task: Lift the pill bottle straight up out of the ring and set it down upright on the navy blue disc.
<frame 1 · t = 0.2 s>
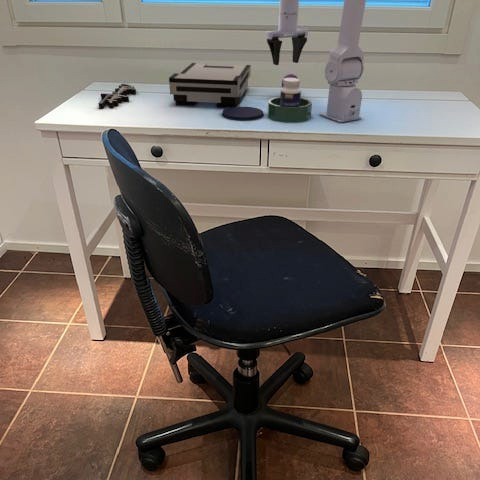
hand: (285, 63, 155), 10 cm above the table, tool pointing down, fingers open, 7 cm apart
game console: (213, 96, 162), on the table
pill bottle: (288, 117, 143), resting in ring
ring: (288, 116, 143), on the table
navy blue disc: (242, 114, 143), on the table
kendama: (288, 99, 160), on the table
dark jagged flat part: (117, 98, 158), on the table
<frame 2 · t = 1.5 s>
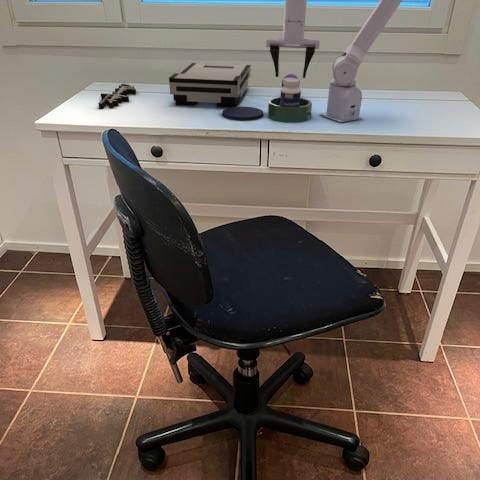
hand: (290, 76, 138), 10 cm above the table, tool pointing down, fingers open, 7 cm apart
nothing on the table moved.
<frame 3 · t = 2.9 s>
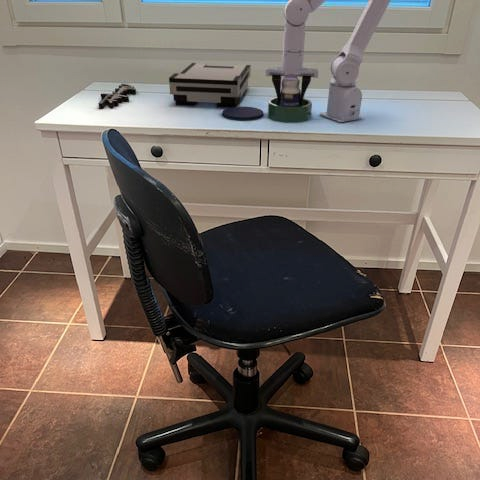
hand: (289, 104, 141), 3 cm above the table, tool pointing down, fingers closed on pill bottle, 5 cm apart
pill bottle: (288, 117, 143), resting in ring, touching gripper
everything else where it was.
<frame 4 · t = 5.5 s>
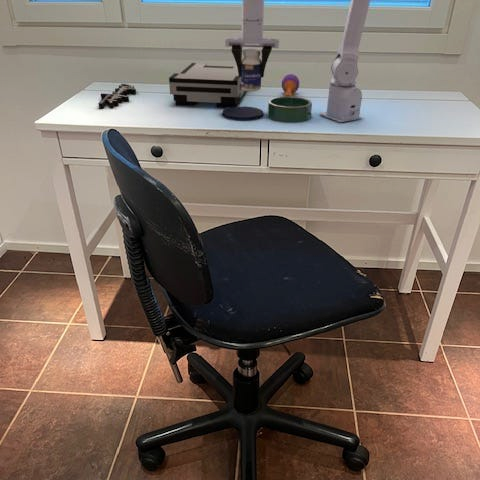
hand: (251, 76, 137), 10 cm above the table, tool pointing down, fingers closed on pill bottle, 5 cm apart
pill bottle: (250, 90, 139), point 7 cm above the table, touching gripper
everything else where it was.
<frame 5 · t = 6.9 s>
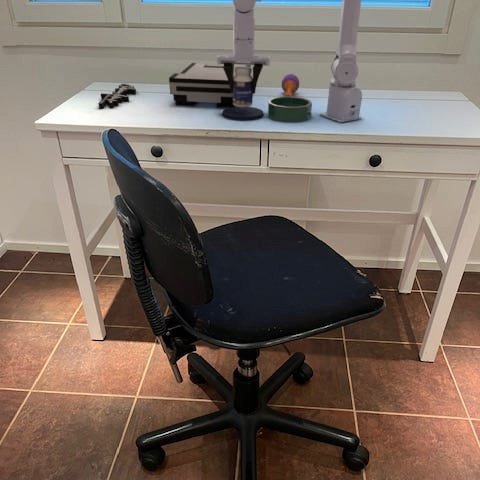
hand: (243, 92, 140), 6 cm above the table, tool pointing down, fingers closed on pill bottle, 5 cm apart
pill bottle: (242, 105, 142), point 2 cm above the table, touching gripper
everything else where it was.
when the fingers open (4 cm above the table, at t = 8.2 s): pill bottle stays where it is, resting on navy blue disc.
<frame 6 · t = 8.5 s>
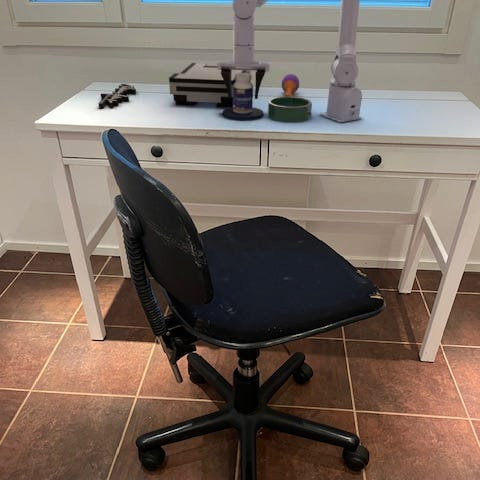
hand: (243, 97, 141), 5 cm above the table, tool pointing down, fingers open, 7 cm apart
pill bottle: (242, 112, 143), point 1 cm above the table, touching navy blue disc
everything else where it was.
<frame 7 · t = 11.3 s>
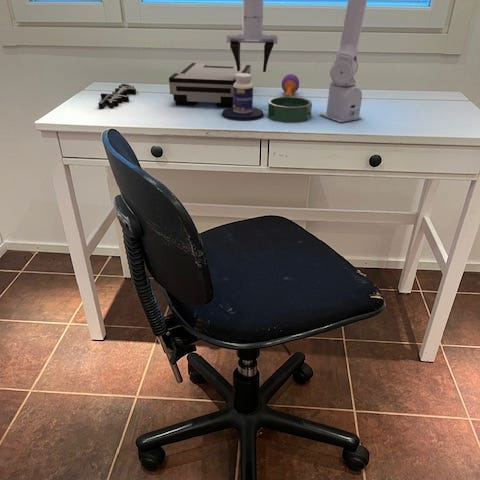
hand: (251, 71, 143), 10 cm above the table, tool pointing down, fingers open, 7 cm apart
nothing on the table moved.
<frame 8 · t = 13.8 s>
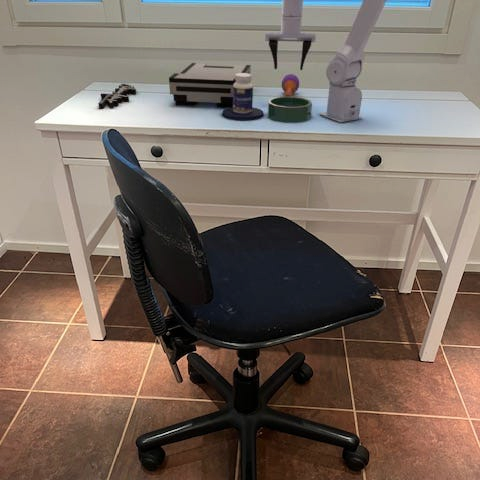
hand: (288, 68, 146), 10 cm above the table, tool pointing down, fingers open, 7 cm apart
nothing on the table moved.
at the end: pill bottle inside the target area on the navy blue disc (0.0 cm from its centre), point 0.7 cm above the navy blue disc's base; pill bottle tilted 0°; the gripper is holding nothing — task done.
